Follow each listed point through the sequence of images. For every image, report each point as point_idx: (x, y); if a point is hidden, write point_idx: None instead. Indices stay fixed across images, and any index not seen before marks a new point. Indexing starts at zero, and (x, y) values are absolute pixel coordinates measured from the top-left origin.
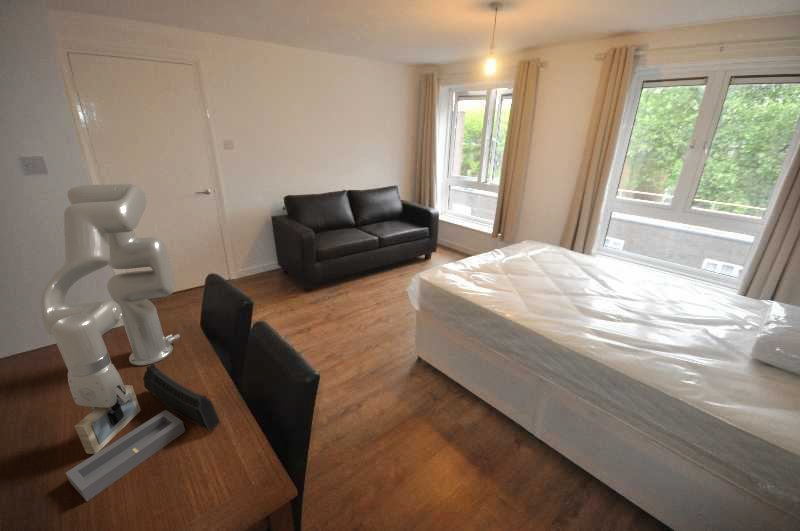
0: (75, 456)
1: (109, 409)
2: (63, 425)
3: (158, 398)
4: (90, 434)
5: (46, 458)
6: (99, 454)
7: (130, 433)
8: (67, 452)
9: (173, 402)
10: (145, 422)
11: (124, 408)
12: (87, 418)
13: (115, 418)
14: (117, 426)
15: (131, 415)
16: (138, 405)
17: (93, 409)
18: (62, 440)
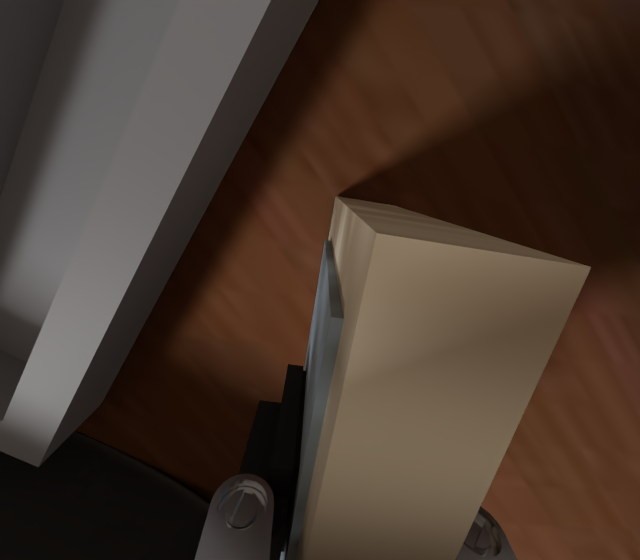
0: (449, 190)
1: (240, 551)
2: (633, 398)
3: None
4: (345, 239)
5: (612, 188)
6: (186, 76)
7: (105, 286)
8: (513, 223)
9: (25, 515)
10: (79, 376)
11: None
12: (445, 426)
13: (270, 417)
14: (304, 366)
15: None
16: None
17: (481, 548)
18: (588, 307)
